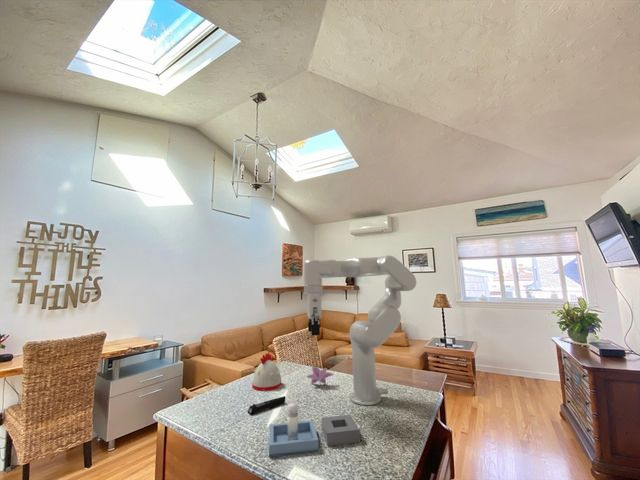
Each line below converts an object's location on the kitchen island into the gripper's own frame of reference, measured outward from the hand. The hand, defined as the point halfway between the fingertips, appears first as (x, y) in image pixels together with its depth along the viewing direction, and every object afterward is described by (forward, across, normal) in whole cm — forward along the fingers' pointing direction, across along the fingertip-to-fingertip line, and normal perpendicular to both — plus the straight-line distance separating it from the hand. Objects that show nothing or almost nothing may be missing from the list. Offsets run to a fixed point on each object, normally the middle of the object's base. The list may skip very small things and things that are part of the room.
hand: (313, 333), depth 110 cm
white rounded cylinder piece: (+28, -21, +10) cm, 36 cm away
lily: (+29, +24, -6) cm, 38 cm away
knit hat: (+29, +31, +19) cm, 46 cm away
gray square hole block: (+28, -20, -5) cm, 35 cm away
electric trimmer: (+29, +5, +18) cm, 35 cm away
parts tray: (+28, -21, +10) cm, 37 cm away
